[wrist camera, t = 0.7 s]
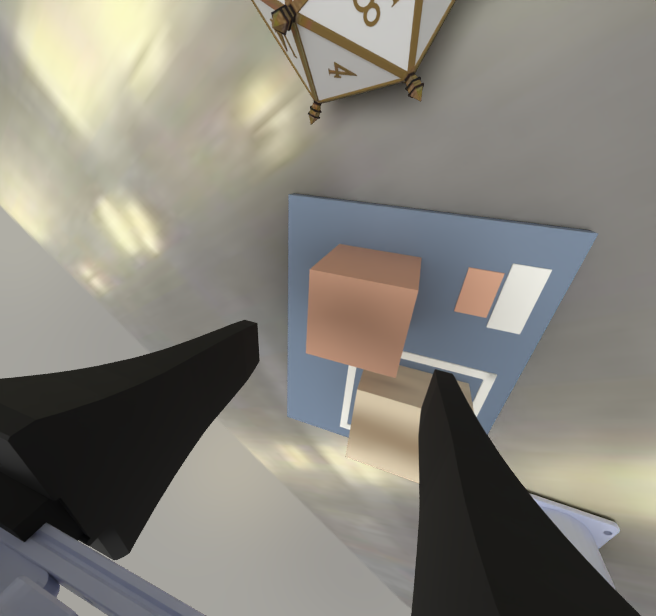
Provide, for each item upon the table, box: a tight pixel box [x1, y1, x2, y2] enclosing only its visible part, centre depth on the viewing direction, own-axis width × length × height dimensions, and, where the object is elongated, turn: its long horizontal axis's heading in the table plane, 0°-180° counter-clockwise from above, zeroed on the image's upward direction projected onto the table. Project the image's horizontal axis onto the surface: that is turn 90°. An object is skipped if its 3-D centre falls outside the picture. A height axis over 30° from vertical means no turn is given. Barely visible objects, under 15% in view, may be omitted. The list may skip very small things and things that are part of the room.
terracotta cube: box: [306, 244, 421, 378], centre depth 16 cm, size 5×5×5 cm
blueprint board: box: [287, 194, 598, 438], centre depth 20 cm, size 20×16×1 cm
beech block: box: [345, 365, 474, 483], centre depth 20 cm, size 7×7×4 cm
